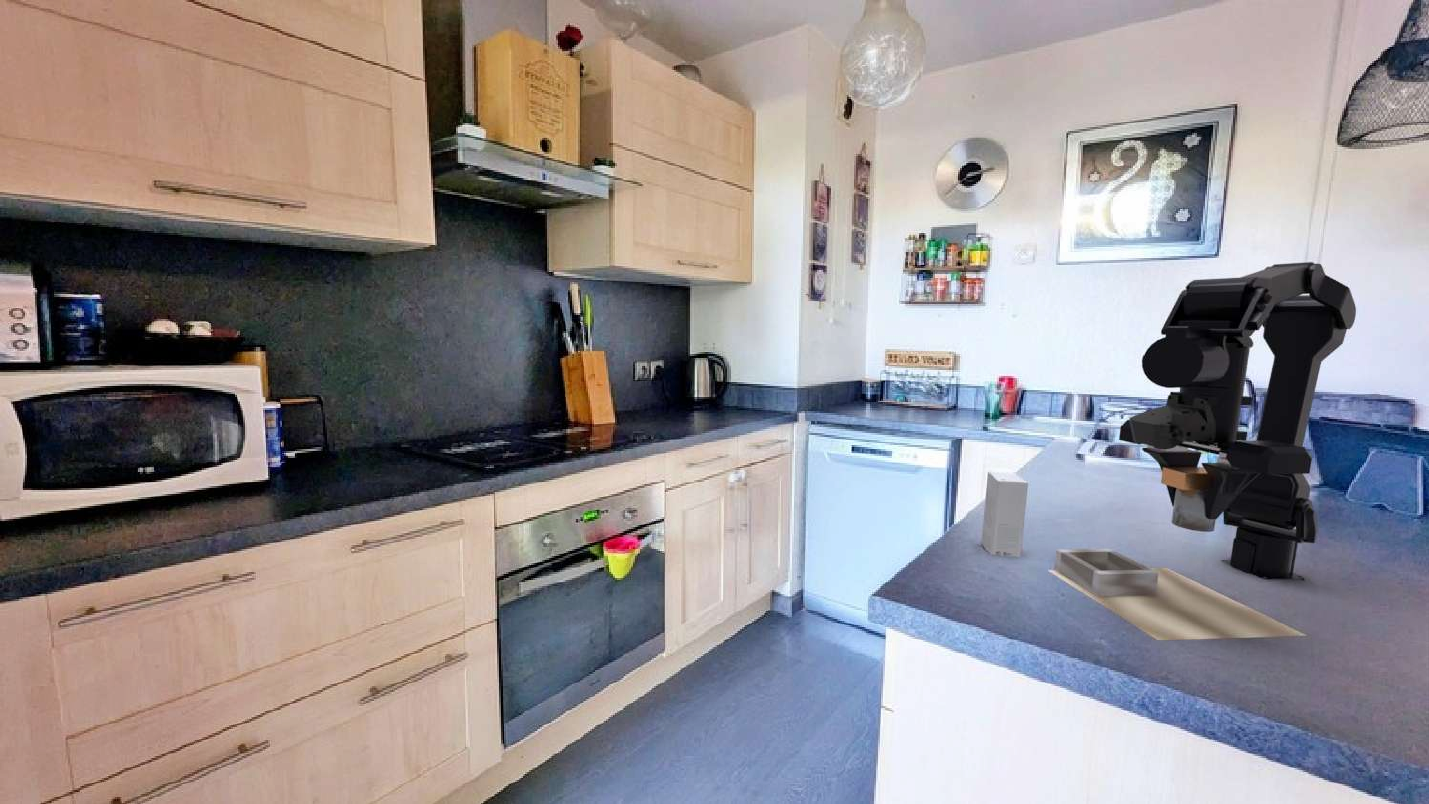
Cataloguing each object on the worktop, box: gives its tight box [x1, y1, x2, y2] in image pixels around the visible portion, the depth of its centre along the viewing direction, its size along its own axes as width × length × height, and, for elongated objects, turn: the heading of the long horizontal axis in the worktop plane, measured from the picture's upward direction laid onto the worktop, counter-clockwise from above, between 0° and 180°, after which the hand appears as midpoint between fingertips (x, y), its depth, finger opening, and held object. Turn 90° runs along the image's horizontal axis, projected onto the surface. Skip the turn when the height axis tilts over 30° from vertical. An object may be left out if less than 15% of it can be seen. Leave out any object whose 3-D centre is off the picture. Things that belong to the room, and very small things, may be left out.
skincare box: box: [981, 471, 1029, 558], centre depth 87 cm, size 6×4×12 cm
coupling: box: [1160, 466, 1217, 533], centre depth 69 cm, size 7×4×7 cm, turn 97°
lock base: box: [1047, 548, 1307, 642], centre depth 71 cm, size 18×18×4 cm
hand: (1193, 513), depth 69 cm, fingers closed on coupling, 4 cm apart
